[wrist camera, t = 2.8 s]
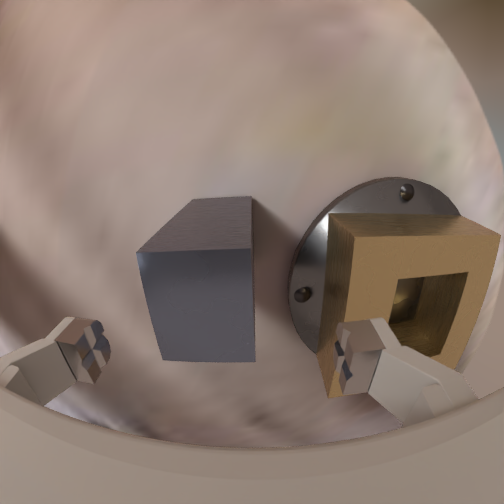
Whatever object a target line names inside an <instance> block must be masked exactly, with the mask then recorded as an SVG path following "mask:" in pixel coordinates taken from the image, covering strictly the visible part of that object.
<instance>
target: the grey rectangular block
mask: <svg viewBox="0 0 504 504" xmlns="http://www.w3.org/2000/svg"><path fill="white" fill-rule="evenodd" d="M136 255H137V260H138V265H139V270H140V275H141V280H142V284H143V289H144V293H145V297H146V301H147V305H148V309H149V313H150V317H151V321H152V324H153V328H154V332H155V335H156V339H157V342H158V346H159V349H160V352H161V355H162V359H163V360H168V361H188V362H255V297H254V252H253V226H252V201H251V196H246V197H224V198H207V199H193V200H192V201H190V202H189V203H188V204H187V205H186V206H185V207H184V208H183V209H181V210H180V211H179V212H178V213H177V214H176V215H175V216H174V217H173V218H172V219H171V220H169V221H168V222H167V223H166V224H165V225H164V226H163V227H162V228H161V229H160V230H159V231H158V232H157V233H156V234H155V235H154V236H153V237H151V238H150V239H149V240H148V241H147V242H146V243H145V244H144V245H143V246H142V247H141V248H140V249H139V250H138V251H137V252H136Z"/></svg>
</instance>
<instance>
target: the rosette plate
mask: <svg viewBox="0 0 504 504" xmlns="http://www.w3.org/2000/svg"><path fill="white" fill-rule="evenodd" d="M500 237H501V235H500V234H498V233H496V232H494V231H492V230H490V229H488V228H486V227H484V226H482V225H480V224H478V223H476V222H474V221H471V220H469V219H467V218H465V217H463V216H461V215H460V213H459V211H458V210H457V208H456V206H455V205H454V204H453V203H452V202H451V200H450V199H449V198H448V197H447V196H446V195H444V194H443V193H442V192H441V191H439V190H438V189H436V188H434V187H433V186H431V185H428V184H426V183H423V182H420V181H417V180H413V179H408V178H402V177H386V178H380V179H374V180H371V181H368V182H365V183H362V184H360V185H358V186H356V187H354V188H352V189H350V190H348V191H346V192H345V193H343V194H342V195H340V196H339V197H337V198H336V199H335V200H334V201H332V202H331V203H330V204H329V205H328V206H327V207H326V208H325V209H323V211H322V212H321V213H320V214H319V215H318V216H317V217H316V219H315V220H314V221H313V222H312V224H311V225H310V227H309V228H308V229H307V231H306V232H305V234H304V236H303V238H302V240H301V241H300V243H299V245H298V247H297V250H296V253H295V255H294V258H293V261H292V265H291V269H290V273H289V281H288V300H289V305H290V310H291V315H292V319H293V322H294V325H295V328H296V330H297V332H298V334H299V336H300V337H301V339H302V341H303V342H304V343H305V344H306V345H307V347H308V348H309V349H311V350H312V351H313V352H314V353H315V354H316V355H317V358H318V362H319V366H320V369H321V373H322V377H323V380H324V384H325V388H326V392H327V396H328V398H333V397H340V396H347V395H343V394H342V390H341V387H340V384H339V376H340V373H338V372H337V371H336V370H335V366H334V361H333V350H334V344H335V342H336V341H337V340H338V337H337V334H336V330H337V325H338V323H339V322H349V321H359V320H367V319H372V318H379V317H382V318H384V319H385V321H386V322H387V324H388V325H389V327H390V329H391V330H392V332H393V333H394V335H395V336H396V338H397V339H398V341H399V343H400V344H401V346H407V347H409V348H411V349H413V350H415V351H417V352H419V353H421V354H423V355H425V356H427V357H429V358H431V359H433V360H435V361H437V362H439V363H441V364H443V365H445V366H447V367H449V368H451V369H455V367H456V365H457V363H458V361H459V359H460V357H461V355H462V353H463V351H464V349H465V347H466V344H467V342H468V340H469V337H470V335H471V333H472V330H473V328H474V325H475V323H476V320H477V318H478V315H479V312H480V310H481V307H482V304H483V301H484V298H485V295H486V292H487V289H488V286H489V282H490V279H491V275H492V272H493V268H494V264H495V260H496V256H497V252H498V247H499V242H500ZM358 394H359V393H358ZM350 395H353V394H350Z"/></svg>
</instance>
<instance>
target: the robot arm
mask: <svg viewBox="0 0 504 504" xmlns="http://www.w3.org/2000/svg"><path fill="white" fill-rule="evenodd" d="M103 332H104V329H103V326H102V324H101V322H99V321H98V320H91V319H84V318H76V317H65V318H64V319H63V320H62V321H61V322H60V323H59V324H58V325H57V326H56V327H55V328H54V329H53V330H52V331H51V333H50V334H49V335H48V336H47V337H46V338H45V339H43V338H42V339H40V340H37V341H35V342H33V343H31V344H29V345H26V346H24V347H22V348H20V349H18V350H15V351H13V352H11V353H9V354H7V355H4V356H2V357H0V504H504V387H503V388H501V389H499V390H497V391H495V392H493V393H491V394H489V395H487V396H485V397H483V398H481V399H478V397H477V396H476V394H475V393H474V392H473V390H472V388H471V387H470V385H469V384H468V382H467V381H466V379H465V378H464V376H463V375H462V374H461V373H459V372H457V371H455V370H453V369H451V368H449V367H447V366H445V365H443V364H441V363H439V362H437V361H435V360H433V359H431V358H429V357H427V356H425V355H423V354H421V353H419V352H417V351H415V350H413V349H411V348H409V347H407V346H401V344H400V343H399V341H398V339H397V338H396V336H395V335H394V333H393V332H392V330H391V329H390V327H389V325H388V324H387V322H386V321H385V319H384V318H382V317H379V318H372V319H367V320H359V321H349V322H339V323H338V325H337V330H336V334H337V337H338V340H337V341H336V342H335V344H334V350H333V361H334V366H335V370H336V371H337V372H338V373H340V376H339V384H340V387H341V390H342V394H343V395H350V394H358V393H365V392H368V394H369V395H371V396H372V397H373V398H374V399H375V400H376V401H378V402H379V403H380V404H381V405H382V406H383V407H385V408H386V409H387V410H388V411H389V412H390V413H392V414H393V415H394V416H395V417H396V418H398V419H399V420H400V421H401V422H402V423H403V425H402V427H401V428H400V429H396V430H392V431H388V432H384V433H380V434H375V435H371V436H366V437H361V438H356V439H350V440H344V441H338V442H331V443H323V444H314V445H304V446H291V447H270V448H236V447H215V446H203V445H192V444H184V443H176V442H170V441H163V440H157V439H152V438H146V437H141V436H137V435H132V434H128V433H124V432H119V431H116V430H112V429H108V428H104V427H101V426H97V425H94V424H91V423H88V422H85V421H81V420H79V419H76V418H73V417H70V416H67V415H64V414H62V413H59V412H57V411H54V410H52V409H49V408H47V407H44V405H46V404H47V403H48V402H50V401H51V400H52V399H54V398H55V397H57V396H58V395H59V394H61V393H62V392H63V391H65V390H66V389H67V388H69V387H70V386H71V385H73V384H74V383H76V382H77V381H81V382H86V383H90V384H95V382H96V380H97V379H98V377H99V376H100V374H101V367H103V366H104V365H106V364H107V362H108V361H109V359H110V353H111V351H110V345H109V342H108V340H107V339H106V338H105V337H104V336H103ZM76 380H77V381H76Z"/></svg>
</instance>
